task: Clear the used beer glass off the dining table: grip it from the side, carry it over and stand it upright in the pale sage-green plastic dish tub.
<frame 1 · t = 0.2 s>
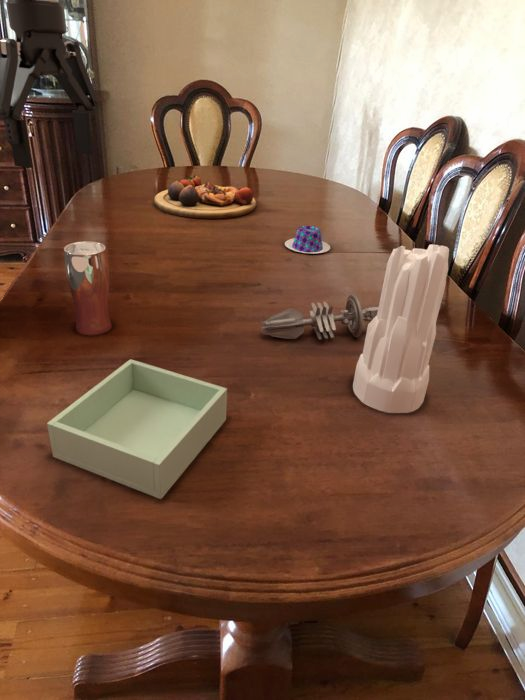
hand: (56, 159, 83), 28 cm above the table, tool pointing down, fingers open, 13 cm apart
spaceship: (351, 335, 98), on the table
wooden plate: (205, 206, 167), on the table
beer glass: (94, 329, 94), on the table
dish tub: (145, 438, 69), on the table
decorative vase: (387, 394, 82), on the table
pudding: (307, 248, 138), on the table
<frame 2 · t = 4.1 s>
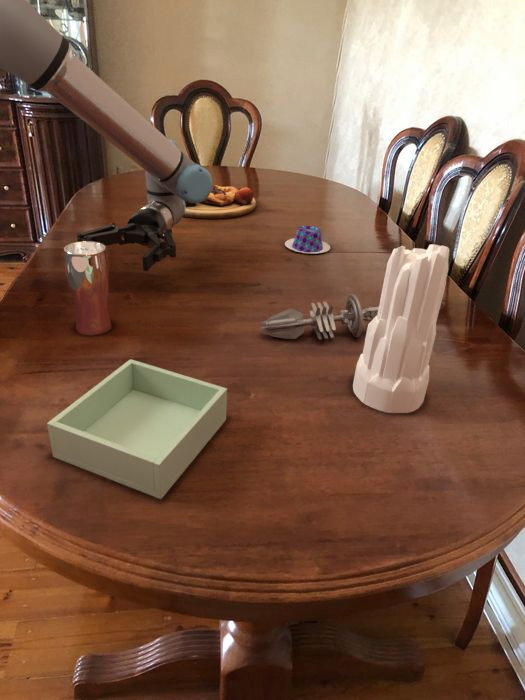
hand: (109, 260, 97), 9 cm above the table, tool horizontal, fingers open, 13 cm apart
nothing on the table moved.
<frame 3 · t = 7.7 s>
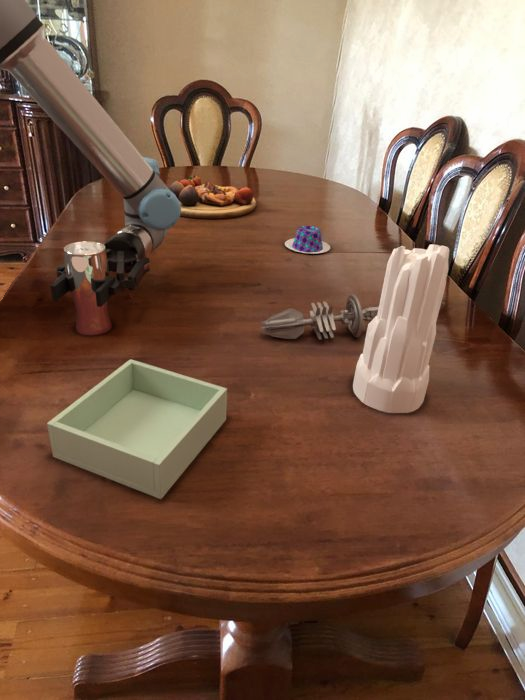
hand: (76, 296, 85), 8 cm above the table, tool horizontal, fingers closed on beer glass, 7 cm apart
beer glass: (94, 329, 94), on the table, touching gripper
everything else where it was.
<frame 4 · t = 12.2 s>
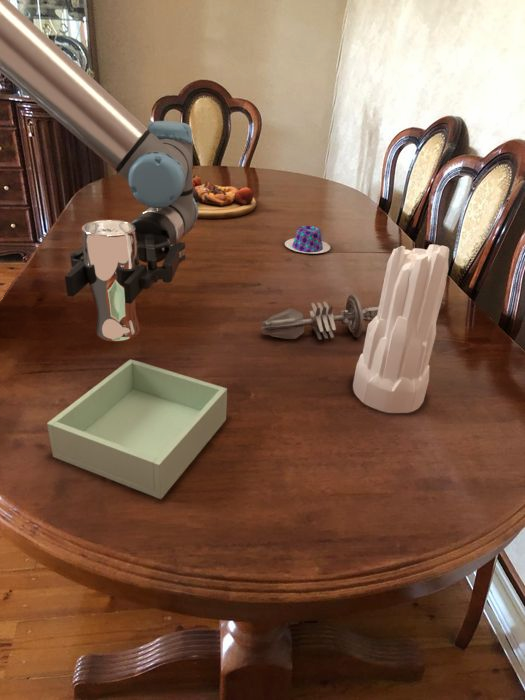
hand: (98, 289, 66), 18 cm above the table, tool horizontal, fingers closed on beer glass, 7 cm apart
beer glass: (118, 332, 74), point 9 cm above the table, touching gripper
everything else where it was.
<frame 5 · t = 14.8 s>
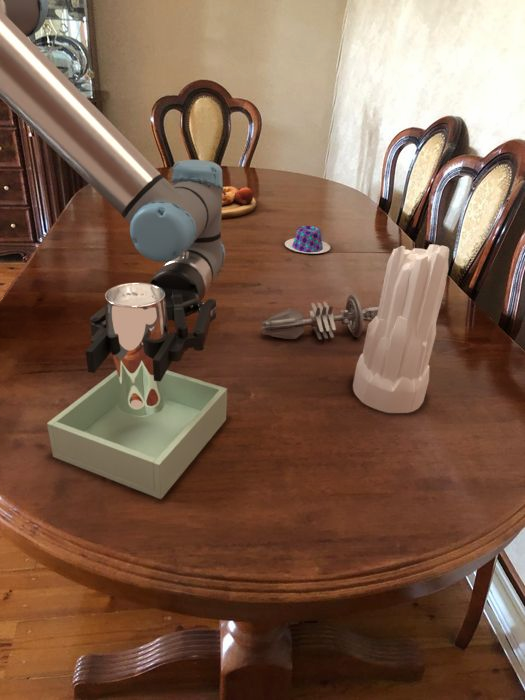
hand: (123, 366, 58), 14 cm above the table, tool horizontal, fingers closed on beer glass, 7 cm apart
beer glass: (143, 403, 66), point 6 cm above the table, touching gripper
everything else where it was.
when the fingers open (9 cm above the table, at t = 16.6 s): beer glass stays where it is, resting on dish tub.
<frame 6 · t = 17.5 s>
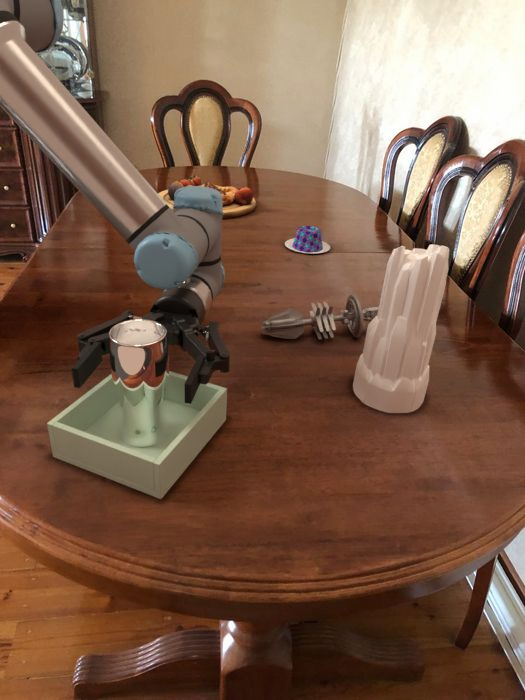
hand: (131, 386, 61), 10 cm above the table, tool horizontal, fingers open, 13 cm apart
beer glass: (144, 433, 69), point 1 cm above the table, touching dish tub
everything else where it was.
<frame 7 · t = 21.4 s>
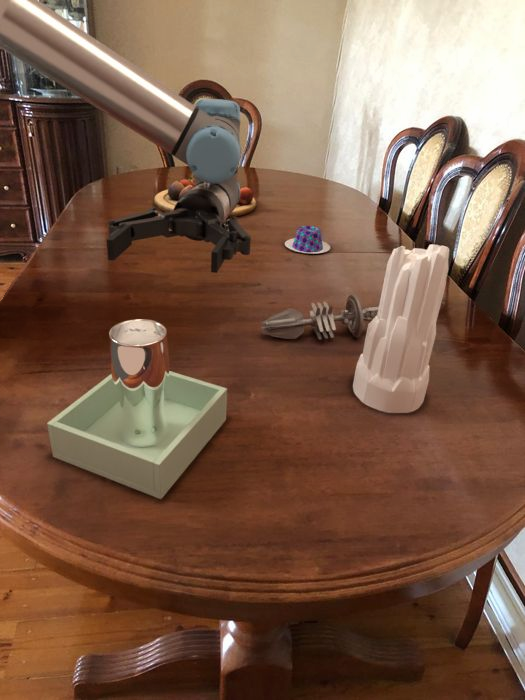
hand: (161, 256, 67), 22 cm above the table, tool horizontal, fingers open, 13 cm apart
nothing on the table moved.
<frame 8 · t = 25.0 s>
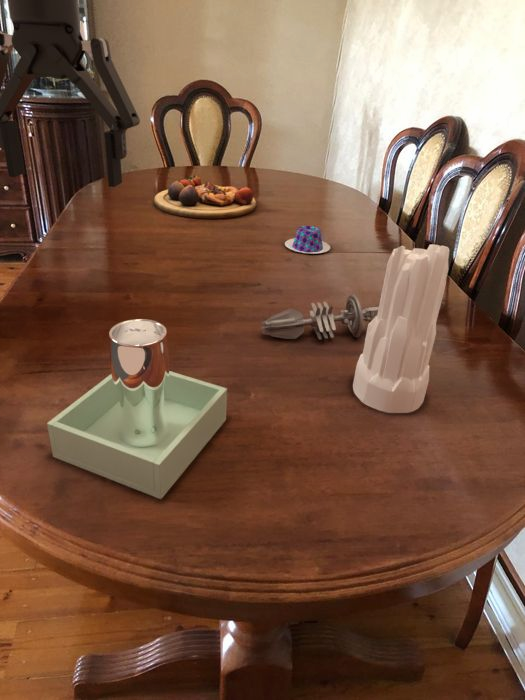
hand: (65, 180, 69), 29 cm above the table, tool pointing down, fingers open, 13 cm apart
nothing on the table moved.
at the end: beer glass inside the target area in the dish tub (0.0 cm from its centre), point 0.8 cm above the dish tub's base; beer glass tilted 0°; the gripper is holding nothing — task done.
